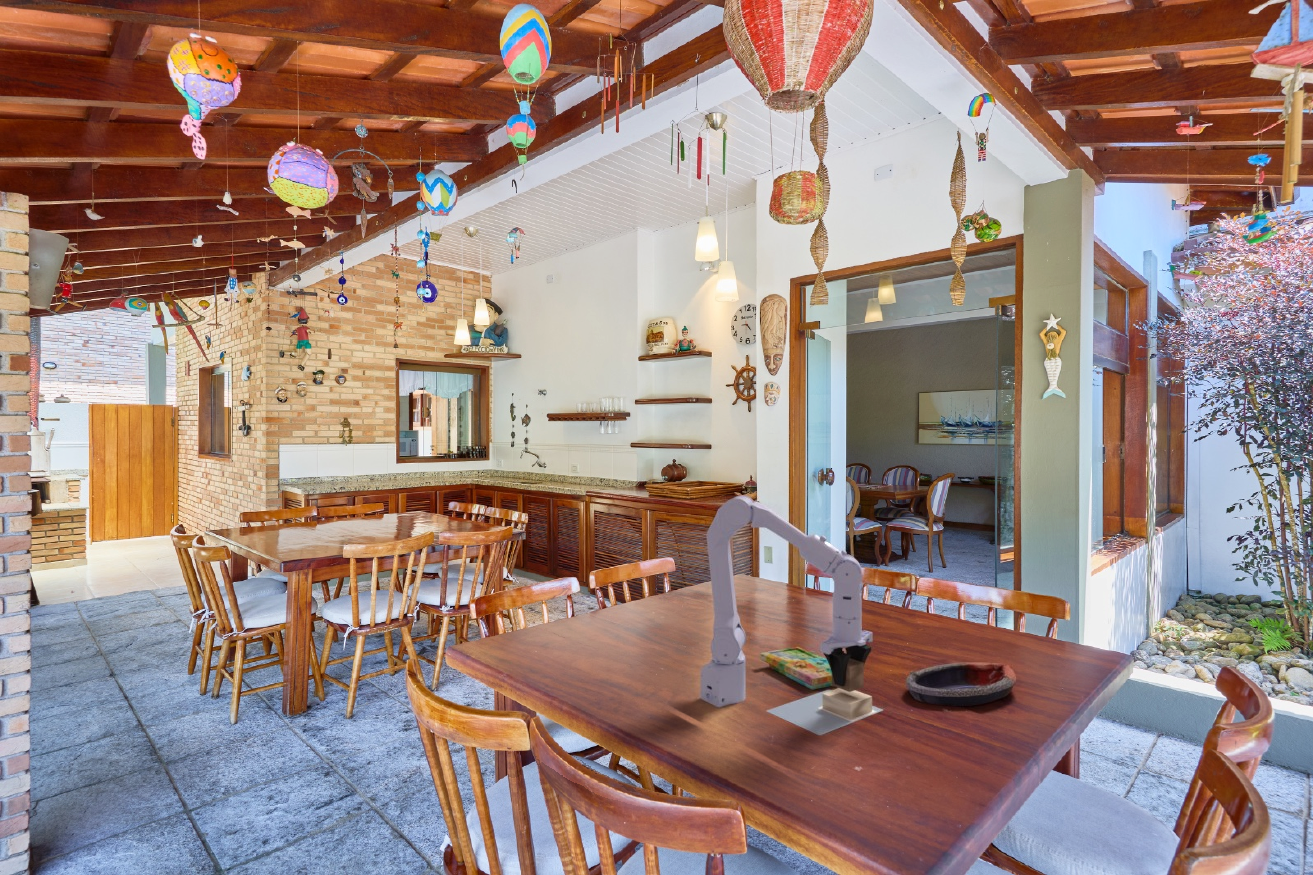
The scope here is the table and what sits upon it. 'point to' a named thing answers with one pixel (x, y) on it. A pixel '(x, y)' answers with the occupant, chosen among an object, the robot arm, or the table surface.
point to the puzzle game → (800, 666)
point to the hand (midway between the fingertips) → (847, 682)
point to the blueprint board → (814, 714)
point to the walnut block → (853, 676)
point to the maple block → (847, 703)
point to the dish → (961, 683)
